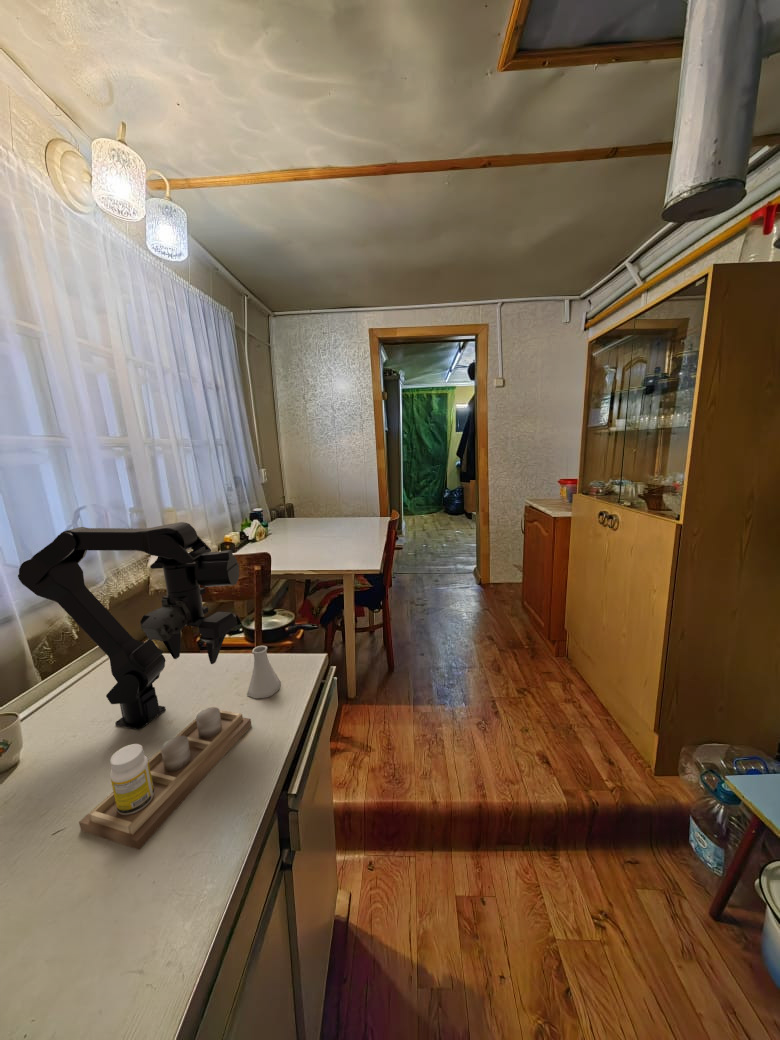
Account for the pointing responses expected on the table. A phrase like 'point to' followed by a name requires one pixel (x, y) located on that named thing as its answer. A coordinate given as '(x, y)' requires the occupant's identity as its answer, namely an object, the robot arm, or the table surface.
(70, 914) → the table surface
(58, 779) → the table surface
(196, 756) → the socket tray
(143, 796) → the supplement bottle
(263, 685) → the flask
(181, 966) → the table surface
